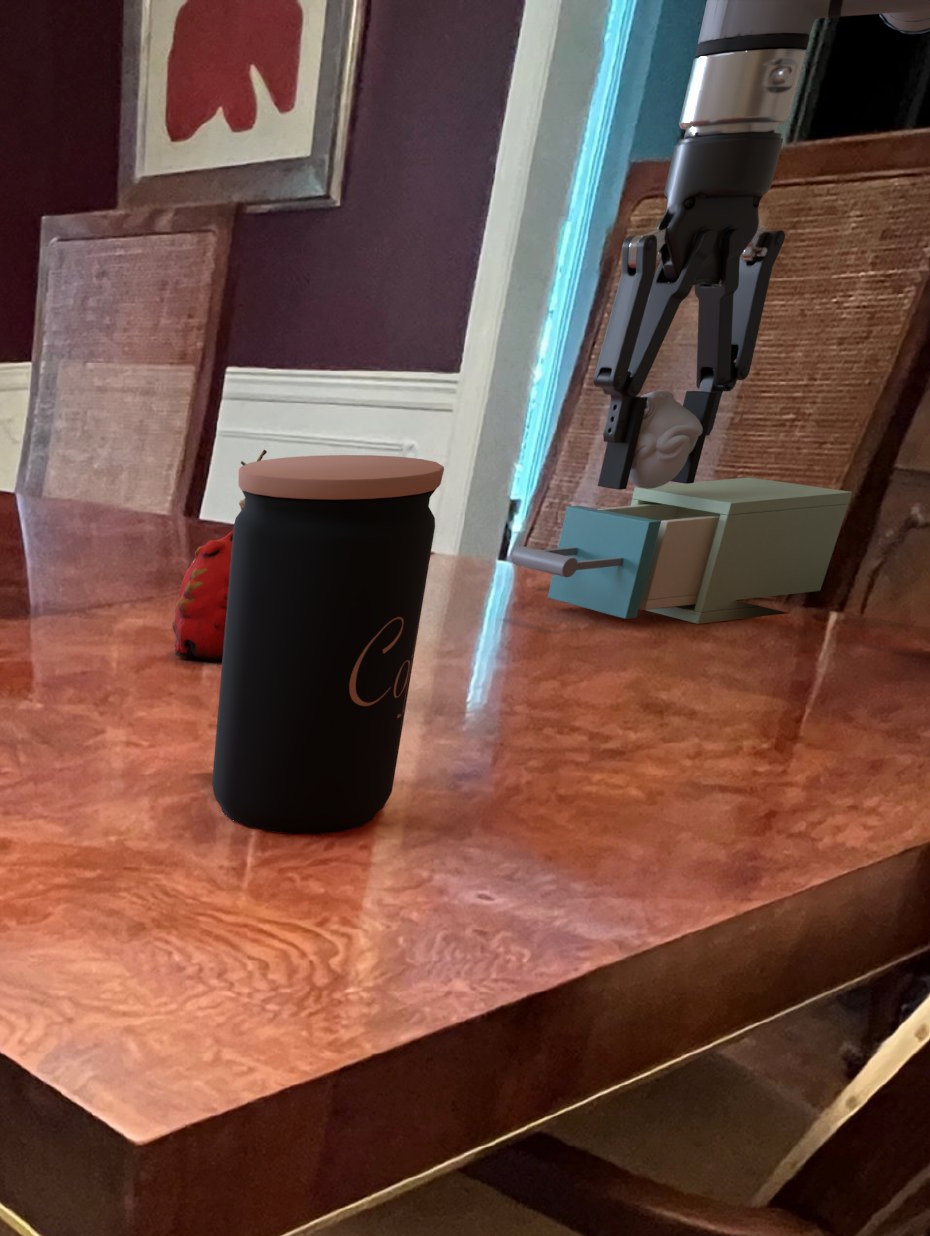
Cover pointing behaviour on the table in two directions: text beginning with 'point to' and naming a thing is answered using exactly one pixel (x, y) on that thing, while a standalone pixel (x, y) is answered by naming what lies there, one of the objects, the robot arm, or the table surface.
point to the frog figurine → (663, 440)
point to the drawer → (627, 557)
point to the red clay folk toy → (205, 600)
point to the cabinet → (756, 542)
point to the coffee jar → (320, 638)
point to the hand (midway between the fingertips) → (645, 484)
